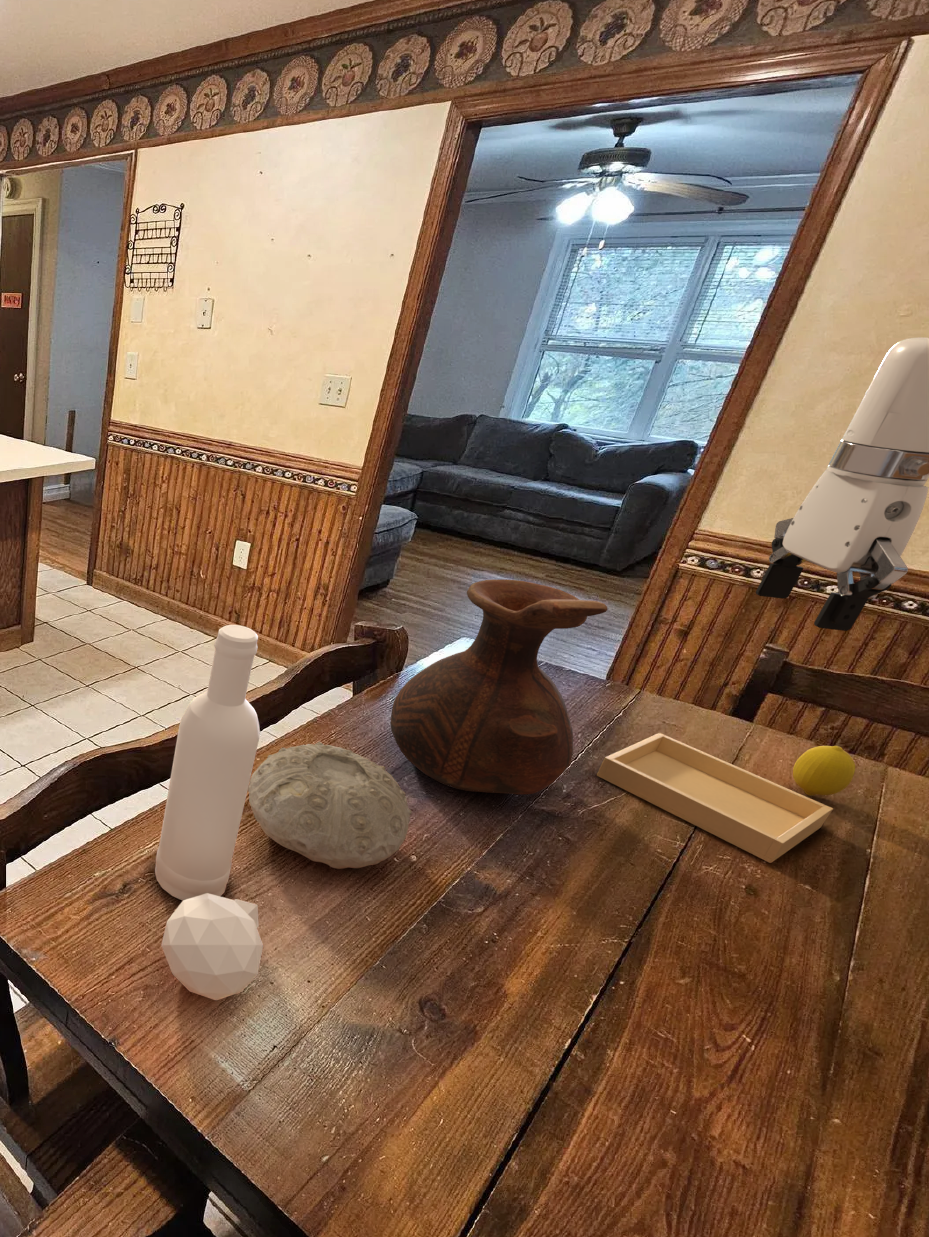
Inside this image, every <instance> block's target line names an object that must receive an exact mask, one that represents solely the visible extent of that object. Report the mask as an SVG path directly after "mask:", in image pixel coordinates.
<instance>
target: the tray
mask: <svg viewBox="0 0 929 1237" xmlns="http://www.w3.org/2000/svg"><path fill="white" fill-rule="evenodd" d="M596 776H597V777H599V778H600V779H602V780H605V781H606V782H609V783H610V784H612V785H614V786H616V787H619V788H620V789H622V790H624V791H626V792H628V793H630V794H632V795H634V796H636V797H638V798H640V799H642V800H644V801H646V802H648V803H650V804H652V805H654V806H656V807H658V808H660V809H661V810H664V811H666V812H668V813H670V814H672V815H674V816H676V817H677V818H679V819H682V820H683V821H685V822H688V823H689V824H691V825H693V826H696V827H697V828H700V829H701V830H703V831H705V832H708V833H709V834H711V835H714V836H716V837H717V838H720V839H721V840H723V841H725V842H727V843H729V844H732V845H733V846H735V847H736V848H739V849H741V850H743V851H745V852H747V853H749V854H751V855H753V856H754V857H757V858H759V859H761V860H762V861H765V862H767V863H769V864H771V863H773V862H774V861H776V860H777V859H779V858H780V857H782V856H783V855H784V854H786V853H787V852H788V851H790V850H791V849H793V848H794V847H796V846H798V845H799V844H800V843H802V841H804V840H805V839H806V838H809V836H811V835H812V834H814V833H815V832H816V831H818V830H819V829H820V828H822V826H823V825H824V823H825V822H826V821H827V819H828V818H829V816H830V815H831V813H832V811H833V810H834V808H833V807H831V806H829V805H827V804H824V803H821V802H820V801H817V800H815V799H812V798H810V797H808V796H807V795H803V794H801V793H799V792H796V791H795V790H793V789H789V788H787V787H785V786H782V785H781V784H778V783H776V782H773V781H771V780H769V779H767V778H764V777H763V776H759V775H757V774H755V773H753V772H750V771H748V770H746V769H744V768H742V767H739V766H737V765H735V764H732V763H730V762H728V761H726V760H724V759H721V758H718V757H717V756H713V755H711V754H709V753H707V752H705V751H702V750H700V749H698V748H695V747H693V746H691V745H688V744H686V743H684V742H683V741H680V740H678V739H675V738H672V737H671V736H668V735H666V734H663V733H662V732H658V733H655V734H654V735H652V736H649V737H647V738H645V739H643V740H640V741H638V742H636V743H634V744H632V745H630V746H627V747H625V748H623V749H621V750H618V751H616V752H613V753H611V754H610V755H607V756H605V757H604V759H603V761H602V763H601V764H600V767H599V769H598V771H597V773H596Z"/></svg>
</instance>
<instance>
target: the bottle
mask: <svg viewBox="0 0 929 1237" xmlns="http://www.w3.org/2000/svg"><path fill="white" fill-rule="evenodd" d="M258 640H259V636H258V634H257V633H256V631H255V630H253V629H252V628H250V627H248V626H244V625H240V624H227V625H224V626H222V627H220V628H219V629H218V632H217V637H216V638H215V640H214V642H213V643H214V644H213V645H214V654H213V658H212V663H211V669H210V675H209V680H208V685H207V686H208V687H207V690H206V691H205V692H203V693H201V694H199V695H196V697H194V698H192V699H191V701H190V702H189V703H188V705H187V707H186V708H185V710H184V712H183V714H182V715H181V718H180V721H179V726H178V731H177V737H176V743H175V748H174V755H173V759H172V760H173V761H172V767H171V771H170V779H169V784H168V790H167V796H166V801H165V808H164V813H163V814H164V815H163V821H162V826H161V832H160V837H159V844H158V847H157V851H156V855H155V867H154V874H155V879H156V881H157V883H158V884H159V886H160V887H161V888H162V889H163V890H164V891H165V892H166V893H168V894H169V895H170V896H172V897H174V898H176V899H178V900H181V901H183V900H186V899H190V898H193V897H196V896H199V895H203V894H206V893H209V894H213V895H216V896H220V897H222V895H223V894H224V893H226V888H227V884H228V882H229V879H230V875H231V870H232V865H233V862H232V861H233V857H234V852H235V848H236V843H237V839H238V835H239V830H240V825H241V822H242V817H243V813H244V809H245V808H244V807H245V803H246V800H247V794H248V787H249V784H250V779H251V776H252V774H253V773H252V772H253V769H254V763H255V760H256V755H257V751H258V747H259V746H258V745H259V742H260V738H261V737H260V736H261V730H260V722H259V718H258V714H257V712H256V710H255V708H254V706H252V704H251V703H250V702H249V701H248V700H247V698H246V696H247V692H248V687H249V682H250V678H251V672H252V668H253V663H254V658H255V656H256V655H257V652H258V648H259V647H258Z"/></svg>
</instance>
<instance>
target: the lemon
mask: <svg viewBox="0 0 929 1237" xmlns="http://www.w3.org/2000/svg"><path fill="white" fill-rule="evenodd" d="M855 772H856V763H855V761H854V759H853V757H852V756H851V755H850V754H849V753H848V752H847V751H845V750H844V749H843V748H842V746H839V745H833V746H831V745H819V746H814V747H811V748H809V749H807V750H806V751H805V752H804V753H802V754H801V755H800V756H799V757H798V758H797V760H796V761H795V763H794V764H793V766H792V779H793V781H794V782H795V784H796V785H797V786H798V787H799V788H800V789H802V790H803V792H804V794H805V795H806V796H811V797H812V796H816V795H817V796H832V795H835V794H838V793H840V792H842V791H843V790H845V789H846V788H847V787H848V786H849V785H850V784H851V783H852V781H853V778H854V775H855Z"/></svg>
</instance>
